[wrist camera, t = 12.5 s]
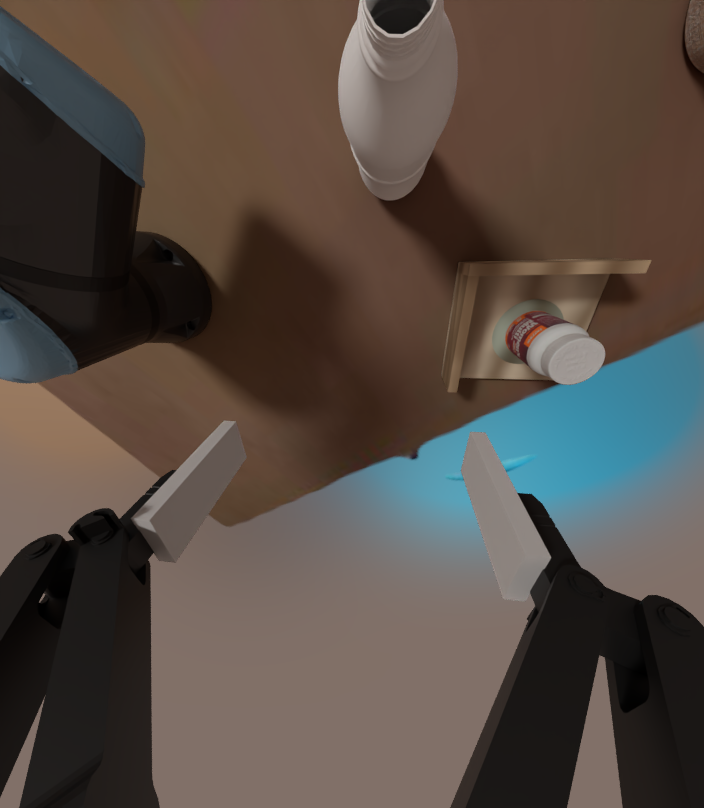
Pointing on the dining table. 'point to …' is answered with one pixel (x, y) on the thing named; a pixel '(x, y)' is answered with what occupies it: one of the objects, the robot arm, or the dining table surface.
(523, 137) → the dining table surface
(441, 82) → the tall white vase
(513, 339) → the pill bottle
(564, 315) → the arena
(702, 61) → the planter
